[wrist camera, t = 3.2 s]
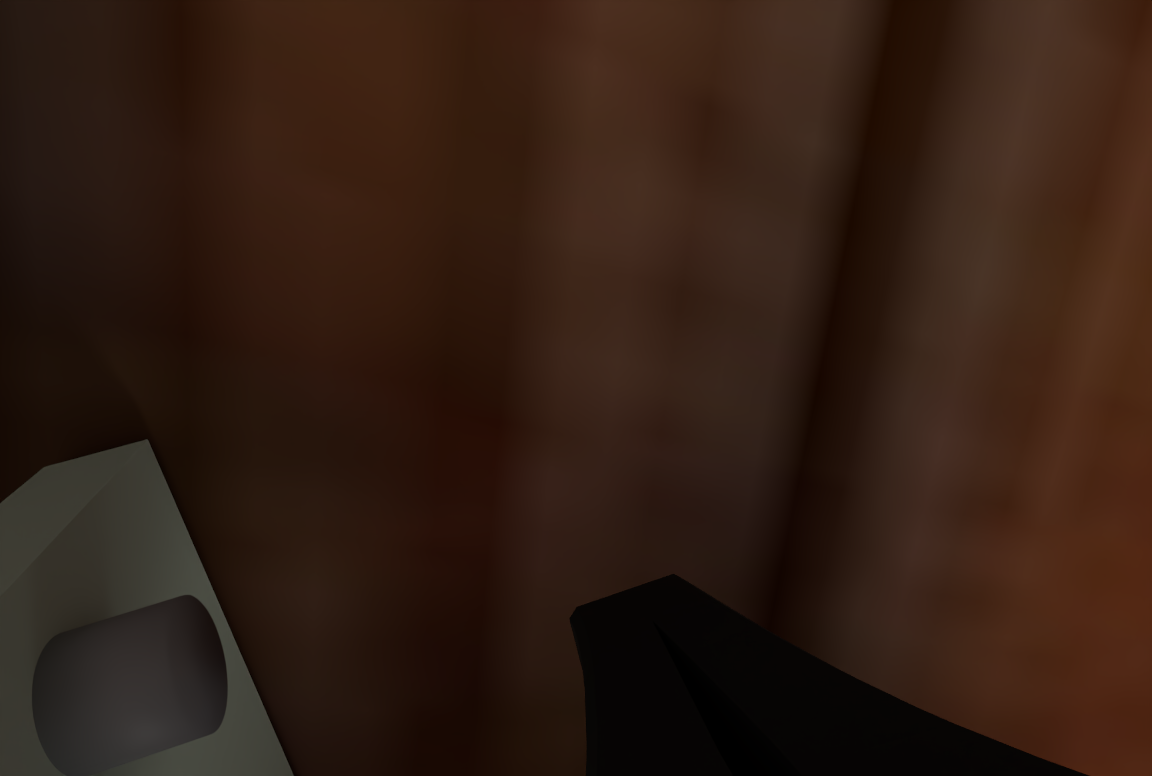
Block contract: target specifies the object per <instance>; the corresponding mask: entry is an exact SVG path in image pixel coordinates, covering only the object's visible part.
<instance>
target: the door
mask: <svg viewBox="0 0 1152 776" xmlns="http://www.w3.org/2000/svg"><path fill="white" fill-rule="evenodd" d="M0 776H294V775H293V773H292V770H291V768H290V766H289V763H288V761H287V759H286V757H285V754H284V752H283V750H282V747H281V745H280V743H279V740H278V738H277V736H276V734H275V731H274V729H273V727H272V724H271V722H270V720H269V717H268V715H267V713H266V710H265V708H264V706H263V704H262V701H261V699H260V697H259V694H258V692H257V690H256V687H255V685H254V683H253V681H252V678H251V676H250V674H249V671H248V669H247V667H246V664H245V662H244V660H243V658H242V655H241V653H240V651H239V648H238V646H237V644H236V641H235V639H234V637H233V634H232V632H231V630H230V628H229V625H228V623H227V621H226V618H225V616H224V614H223V611H222V609H221V607H220V605H219V602H218V600H217V598H216V595H215V593H214V591H213V588H212V586H211V584H210V582H209V579H208V577H207V575H206V572H205V570H204V568H203V565H202V563H201V561H200V558H199V556H198V554H197V552H196V549H195V547H194V545H193V542H192V540H191V538H190V535H189V533H188V531H187V529H186V526H185V524H184V522H183V519H182V517H181V515H180V512H179V510H178V508H177V506H176V503H175V501H174V499H173V496H172V494H171V492H170V489H169V487H168V485H167V482H166V480H165V478H164V476H163V473H162V471H161V469H160V466H159V464H158V462H157V459H156V457H155V455H154V453H153V450H152V448H151V446H150V443H149V441H148V439H146V440H143V441H139V442H135V443H132V444H128V445H124V446H120V447H117V448H113V449H109V450H106V451H102V452H98V453H94V454H91V455H87V456H83V457H80V458H76V459H72V460H68V461H65V462H61V463H57V464H54V465H50V466H46V467H44V468H42V469H41V470H40V471H39V472H38V473H36V474H35V475H34V476H33V477H31V478H30V479H29V480H28V481H27V482H25V483H24V484H23V485H22V486H21V487H19V488H18V489H17V490H16V491H15V492H13V493H12V494H11V495H10V496H8V497H7V498H6V499H5V500H4V501H2V502H1V503H0Z"/></svg>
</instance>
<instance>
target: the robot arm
mask: <svg viewBox="0 0 1152 776" xmlns="http://www.w3.org/2000/svg"><path fill="white" fill-rule="evenodd" d="M570 623H571V627H572V631H573V635H574V638H575V642H576V646H577V650H578V654H579V658H580V662H581V666H582V670H583V676H584V686H585V706H586V735H587V762H586V776H1089V775H1086V774H1083V773H1080V772H1077V771H1075V770H1072V769H1069V768H1066V767H1064V766H1061V765H1058V764H1055V763H1052V762H1050V761H1047V760H1044V759H1042V758H1039V757H1036V756H1034V755H1031V754H1029V753H1026V752H1024V751H1021V750H1019V749H1016V748H1014V747H1011V746H1009V745H1006V744H1004V743H1001V742H999V741H996V740H994V739H991V738H989V737H986V736H984V735H981V734H979V733H976V732H974V731H971V730H969V729H966V728H964V727H961V726H959V725H956V724H954V723H951V722H949V721H947V720H945V719H942V718H940V717H938V716H935V715H933V714H931V713H928V712H926V711H924V710H922V709H919V708H917V707H915V706H913V705H911V704H909V703H907V702H904V701H902V700H900V699H898V698H896V697H894V696H892V695H890V694H888V693H886V692H884V691H881V690H879V689H877V688H875V687H873V686H871V685H869V684H867V683H865V682H863V681H861V680H858V679H856V678H855V677H853V676H851V675H849V674H847V673H845V672H843V671H841V670H839V669H837V668H835V667H833V666H831V665H830V664H828V663H826V662H824V661H822V660H820V659H819V658H817V657H815V656H813V655H811V654H809V653H808V652H806V651H804V650H802V649H800V648H799V647H797V646H795V645H793V644H791V643H789V642H788V641H786V640H784V639H782V638H780V637H779V636H777V635H775V634H773V633H772V632H770V631H768V630H766V629H765V628H763V627H761V626H760V625H758V624H756V623H755V622H753V621H751V620H750V619H748V618H746V617H744V616H743V615H741V614H739V613H738V612H736V611H734V610H733V609H731V608H730V607H728V606H726V605H725V604H723V603H721V602H720V601H718V600H716V599H715V598H713V597H712V596H710V595H708V594H707V593H705V592H703V591H702V590H700V589H699V588H697V587H695V586H694V585H692V584H690V583H689V582H687V581H685V580H684V579H682V578H680V577H678V576H677V575H675V574H672V575H669V576H666V577H663V578H660V579H657V580H654V581H651V582H648V583H645V584H642V585H640V586H637V587H634V588H631V589H628V590H625V591H622V592H619V593H616V594H613V595H611V596H608V597H605V598H602V599H599V600H596V601H593V602H590V603H587V604H584V605H581V606H579V607H576V609H575V611H574V612H573V614H572V615H571V617H570Z"/></svg>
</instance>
